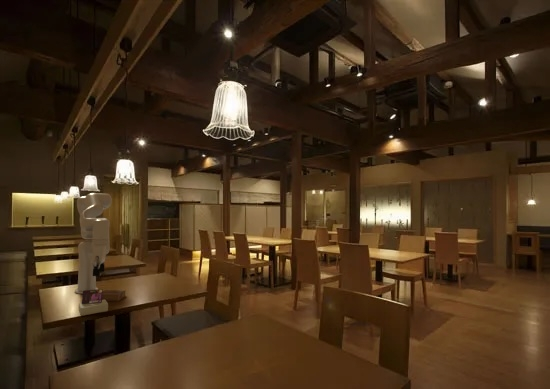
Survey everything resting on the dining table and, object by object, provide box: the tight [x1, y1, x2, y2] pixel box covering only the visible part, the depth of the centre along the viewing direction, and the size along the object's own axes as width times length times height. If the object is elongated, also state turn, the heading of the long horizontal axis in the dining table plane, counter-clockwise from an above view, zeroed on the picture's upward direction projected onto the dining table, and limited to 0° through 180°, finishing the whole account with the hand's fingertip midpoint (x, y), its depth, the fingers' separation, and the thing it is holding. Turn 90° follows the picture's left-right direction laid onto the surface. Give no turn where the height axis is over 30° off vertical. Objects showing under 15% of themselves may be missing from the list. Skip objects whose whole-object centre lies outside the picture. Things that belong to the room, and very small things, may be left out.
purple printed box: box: [81, 288, 104, 304], centre depth 162 cm, size 7×5×9 cm
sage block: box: [78, 299, 109, 316], centre depth 159 cm, size 10×12×4 cm
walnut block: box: [95, 289, 126, 302], centre depth 180 cm, size 10×12×4 cm
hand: (98, 273), depth 167 cm, fingers open, 9 cm apart
